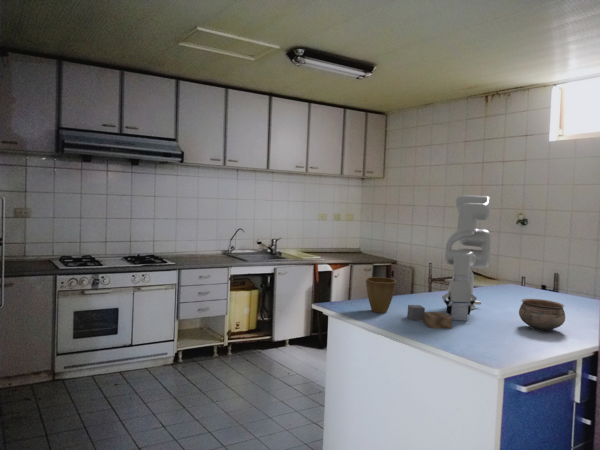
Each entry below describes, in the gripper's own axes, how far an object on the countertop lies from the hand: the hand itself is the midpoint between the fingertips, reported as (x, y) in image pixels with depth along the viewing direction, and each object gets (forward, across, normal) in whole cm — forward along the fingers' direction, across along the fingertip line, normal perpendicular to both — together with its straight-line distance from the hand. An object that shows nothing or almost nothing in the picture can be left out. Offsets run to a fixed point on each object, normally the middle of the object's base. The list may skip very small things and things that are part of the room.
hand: (458, 313), depth 230 cm
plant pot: (+3, +35, -13) cm, 37 cm away
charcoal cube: (+3, +21, 0) cm, 21 cm away
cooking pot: (+3, -33, +15) cm, 36 cm away
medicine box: (+3, 0, 0) cm, 3 cm away
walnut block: (+3, +15, +11) cm, 19 cm away
